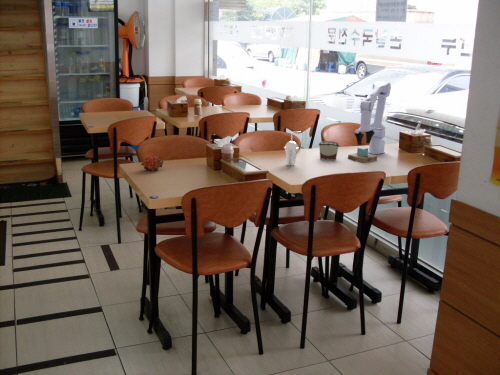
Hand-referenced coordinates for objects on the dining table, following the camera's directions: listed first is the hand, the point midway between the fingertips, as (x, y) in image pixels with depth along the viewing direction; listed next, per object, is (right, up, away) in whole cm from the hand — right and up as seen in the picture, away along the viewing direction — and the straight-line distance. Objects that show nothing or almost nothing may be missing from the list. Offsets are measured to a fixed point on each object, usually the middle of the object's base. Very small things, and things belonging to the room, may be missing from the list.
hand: (363, 144), depth 321 cm
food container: (-21, -8, +4) cm, 23 cm away
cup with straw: (-44, -13, -14) cm, 48 cm away
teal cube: (0, -7, +2) cm, 7 cm away
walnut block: (0, -10, +3) cm, 10 cm away
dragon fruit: (-120, -17, -31) cm, 125 cm away
